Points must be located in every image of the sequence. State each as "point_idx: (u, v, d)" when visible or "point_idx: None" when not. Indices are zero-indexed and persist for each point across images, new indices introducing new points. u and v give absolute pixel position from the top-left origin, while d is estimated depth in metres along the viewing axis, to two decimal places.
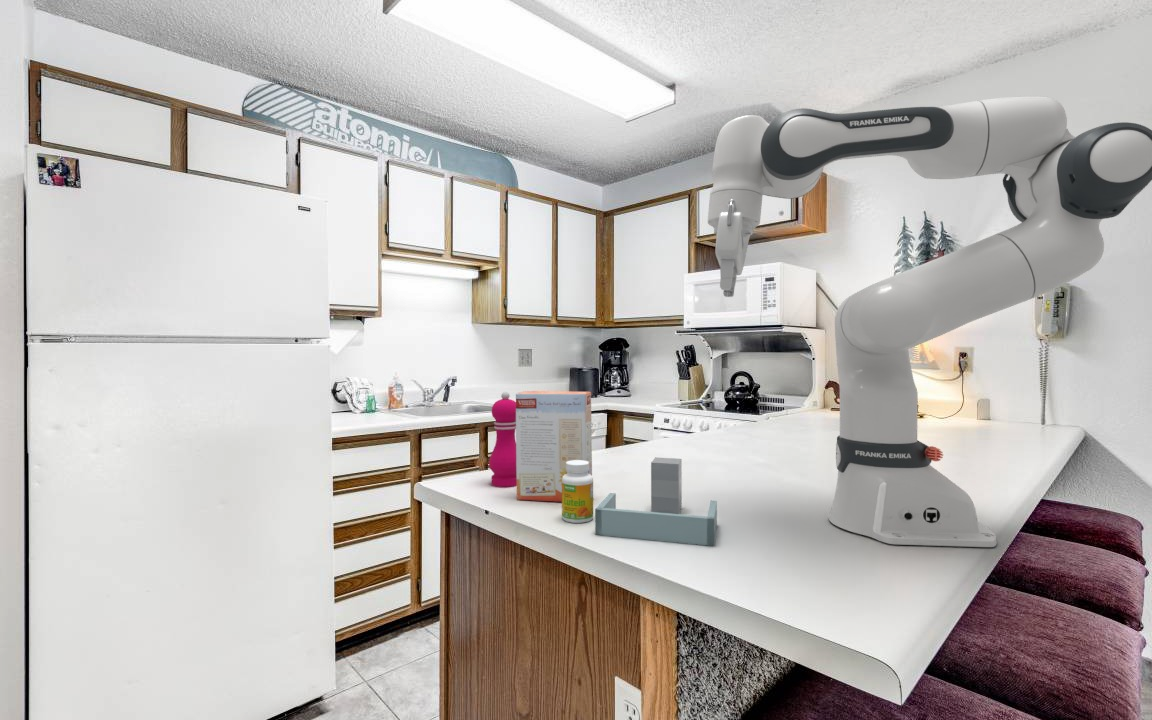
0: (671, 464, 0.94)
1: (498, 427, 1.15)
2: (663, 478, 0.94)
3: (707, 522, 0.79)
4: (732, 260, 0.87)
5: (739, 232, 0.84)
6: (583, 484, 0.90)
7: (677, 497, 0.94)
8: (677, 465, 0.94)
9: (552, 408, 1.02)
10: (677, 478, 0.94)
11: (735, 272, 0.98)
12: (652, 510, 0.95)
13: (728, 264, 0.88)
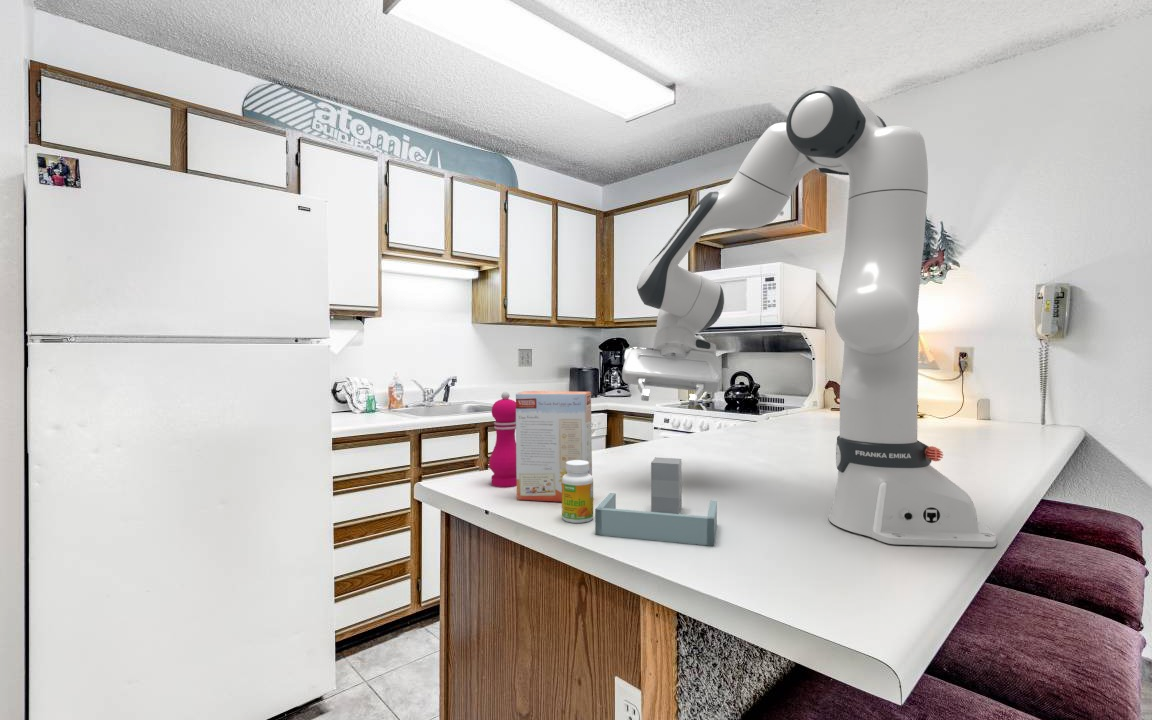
0: (671, 464, 0.94)
1: (498, 427, 1.15)
2: (663, 478, 0.94)
3: (707, 522, 0.79)
4: (638, 378, 1.11)
5: (626, 360, 1.13)
6: (583, 484, 0.90)
7: (677, 497, 0.94)
8: (677, 465, 0.94)
9: (551, 408, 1.02)
10: (677, 478, 0.94)
11: (696, 384, 1.08)
12: (652, 510, 0.95)
13: (638, 382, 1.11)
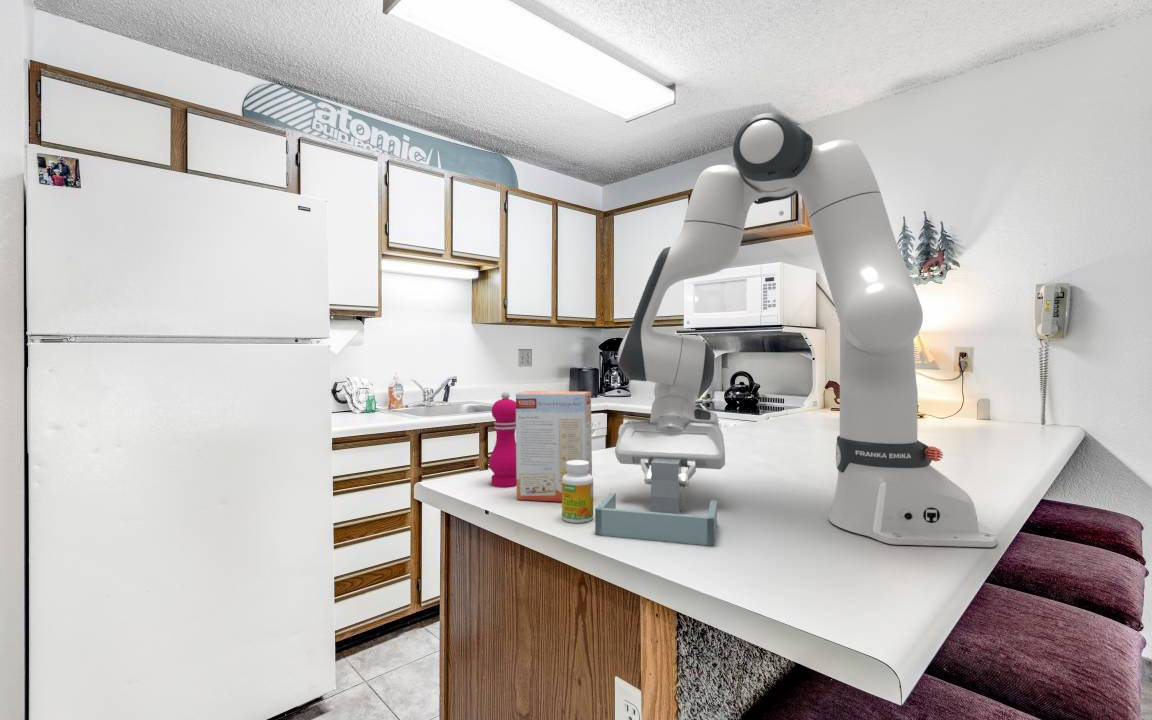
0: (671, 464, 0.94)
1: (498, 427, 1.15)
2: (663, 478, 0.94)
3: (707, 522, 0.79)
4: (640, 458, 1.00)
5: (619, 438, 1.03)
6: (583, 484, 0.90)
7: (677, 497, 0.94)
8: (677, 465, 0.94)
9: (551, 408, 1.02)
10: (677, 478, 0.94)
11: (687, 461, 0.97)
12: (652, 510, 0.95)
13: (641, 463, 1.00)
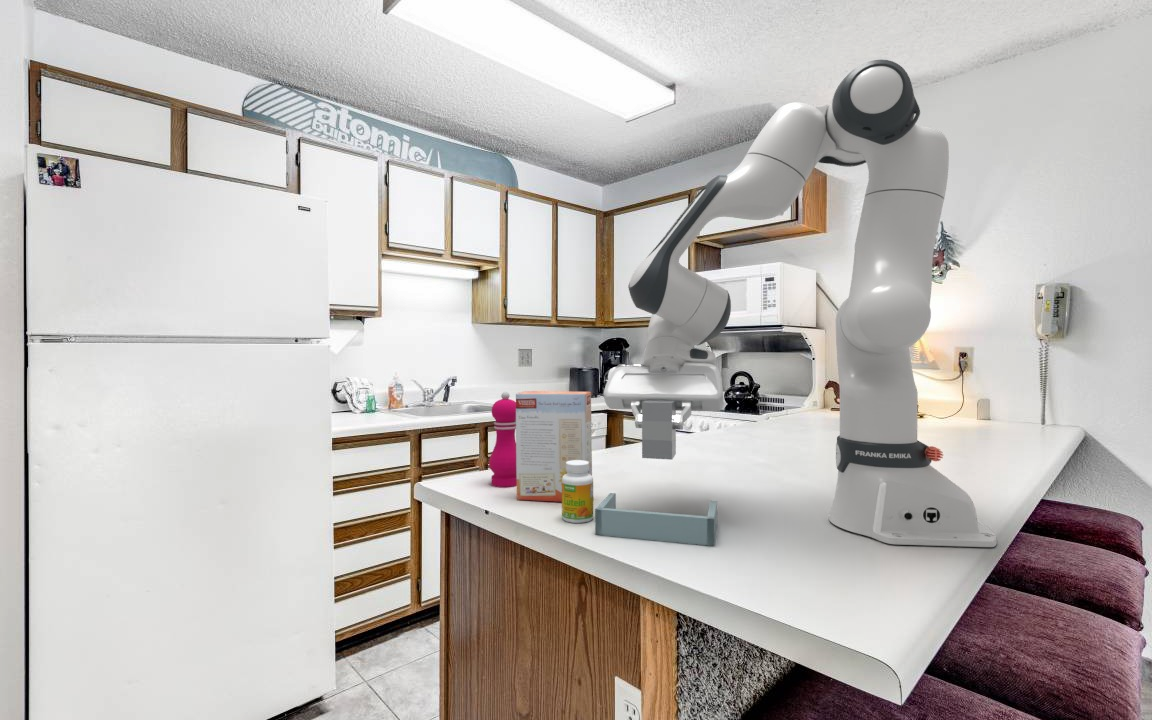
0: (664, 403, 0.86)
1: (498, 427, 1.15)
2: (655, 419, 0.86)
3: (707, 522, 0.79)
4: (631, 401, 0.92)
5: (608, 381, 0.95)
6: (583, 484, 0.90)
7: (670, 439, 0.85)
8: (670, 404, 0.85)
9: (551, 408, 1.02)
10: (670, 418, 0.85)
11: (682, 402, 0.89)
12: (643, 454, 0.87)
13: None
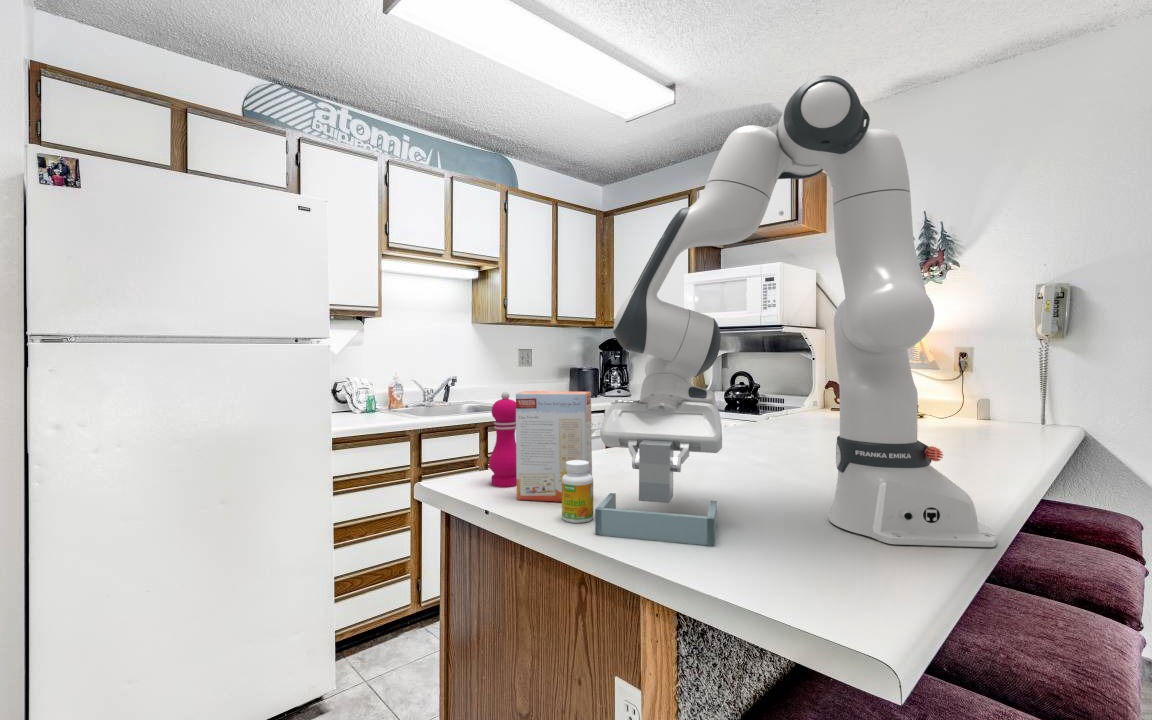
0: (662, 446, 0.84)
1: (498, 427, 1.15)
2: (652, 461, 0.84)
3: (707, 522, 0.79)
4: (628, 440, 0.90)
5: (605, 418, 0.93)
6: (583, 484, 0.90)
7: (668, 483, 0.84)
8: (668, 447, 0.84)
9: (552, 408, 1.02)
10: (668, 461, 0.84)
11: (680, 443, 0.87)
12: (640, 497, 0.85)
13: None
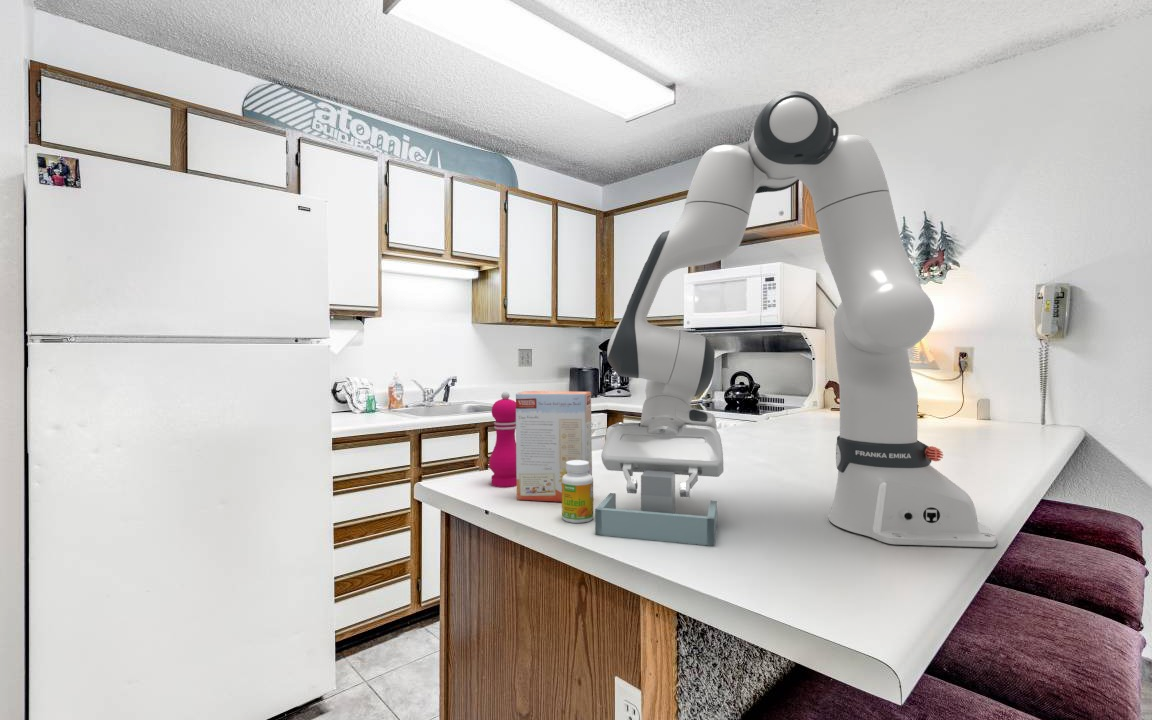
0: (663, 478, 0.84)
1: (498, 427, 1.15)
2: (654, 493, 0.84)
3: (707, 522, 0.79)
4: (623, 464, 0.90)
5: (606, 441, 0.93)
6: (583, 484, 0.90)
7: None
8: (670, 479, 0.84)
9: (551, 408, 1.02)
10: (670, 493, 0.84)
11: (688, 468, 0.87)
12: None
13: None
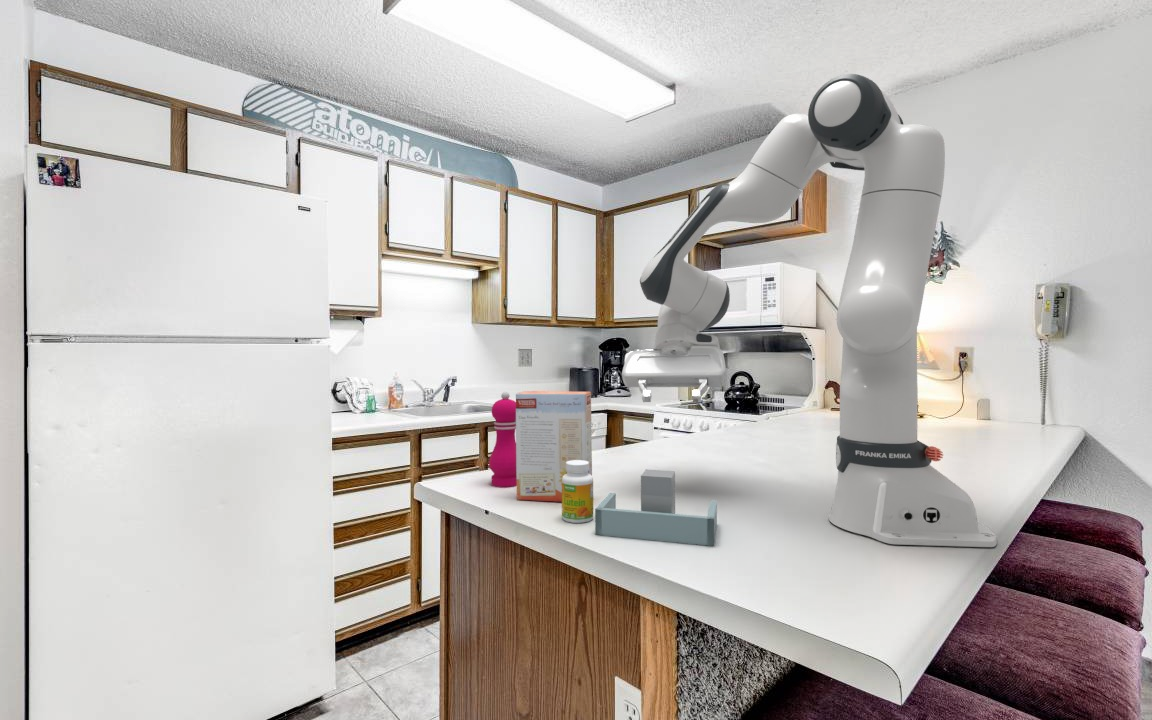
0: (663, 478, 0.84)
1: (498, 427, 1.15)
2: (654, 493, 0.84)
3: (707, 522, 0.79)
4: (638, 380, 1.06)
5: (625, 363, 1.09)
6: (583, 484, 0.90)
7: None
8: (670, 479, 0.84)
9: (551, 408, 1.02)
10: (670, 493, 0.84)
11: None
12: None
13: None
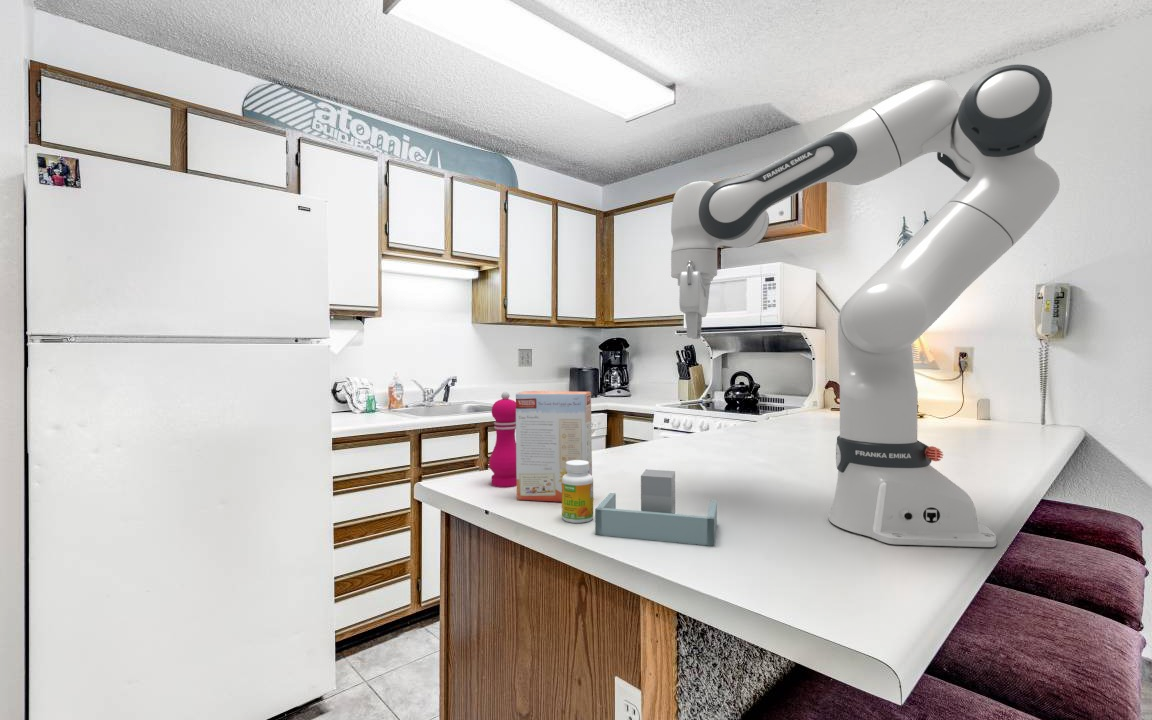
0: (663, 478, 0.84)
1: (498, 427, 1.15)
2: (654, 493, 0.84)
3: (707, 522, 0.79)
4: (695, 312, 0.99)
5: (698, 290, 0.96)
6: (583, 484, 0.90)
7: None
8: (670, 479, 0.84)
9: (551, 408, 1.02)
10: (670, 493, 0.84)
11: (700, 316, 1.10)
12: None
13: (692, 316, 0.99)
